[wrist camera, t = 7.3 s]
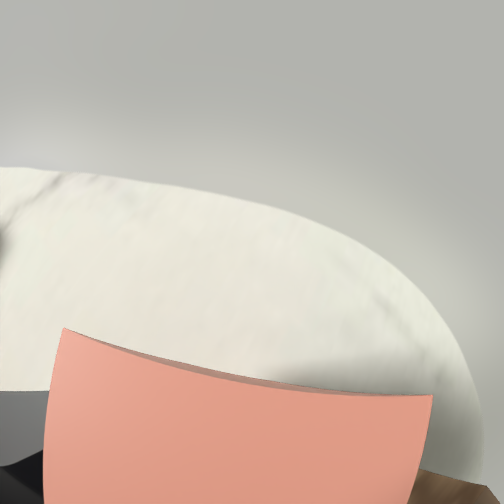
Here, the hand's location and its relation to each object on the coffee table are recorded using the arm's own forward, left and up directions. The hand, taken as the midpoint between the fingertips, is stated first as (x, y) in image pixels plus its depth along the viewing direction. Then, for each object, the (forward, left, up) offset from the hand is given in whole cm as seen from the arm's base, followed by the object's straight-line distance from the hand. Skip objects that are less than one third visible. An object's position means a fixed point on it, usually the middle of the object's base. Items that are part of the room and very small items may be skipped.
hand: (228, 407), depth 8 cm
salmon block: (-1, -1, -7) cm, 7 cm away
